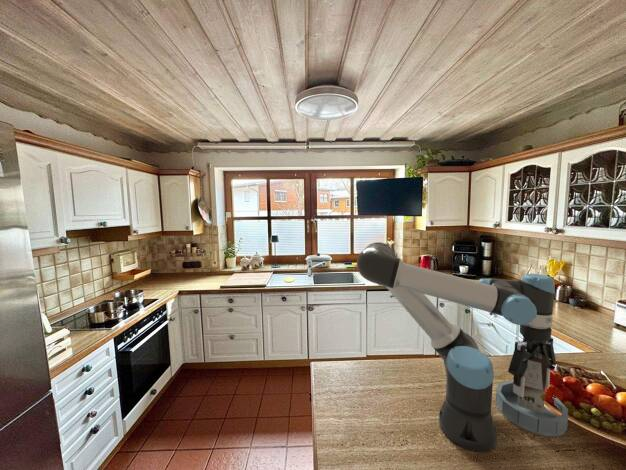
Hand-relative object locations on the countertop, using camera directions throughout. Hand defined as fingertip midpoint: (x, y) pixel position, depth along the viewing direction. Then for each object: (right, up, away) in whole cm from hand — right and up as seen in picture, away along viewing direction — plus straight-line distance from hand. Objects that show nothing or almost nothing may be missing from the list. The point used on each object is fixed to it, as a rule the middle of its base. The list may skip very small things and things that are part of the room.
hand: (531, 390), depth 84 cm
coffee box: (0, -4, 0) cm, 4 cm away
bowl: (0, -8, +1) cm, 8 cm away
